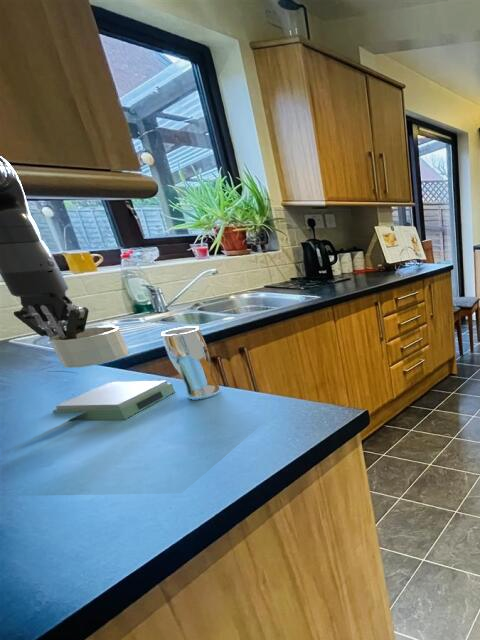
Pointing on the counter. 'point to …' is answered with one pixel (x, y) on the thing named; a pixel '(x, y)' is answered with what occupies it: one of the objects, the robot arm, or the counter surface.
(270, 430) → the counter surface
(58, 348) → the bowl
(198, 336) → the beer glass
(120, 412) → the scale
